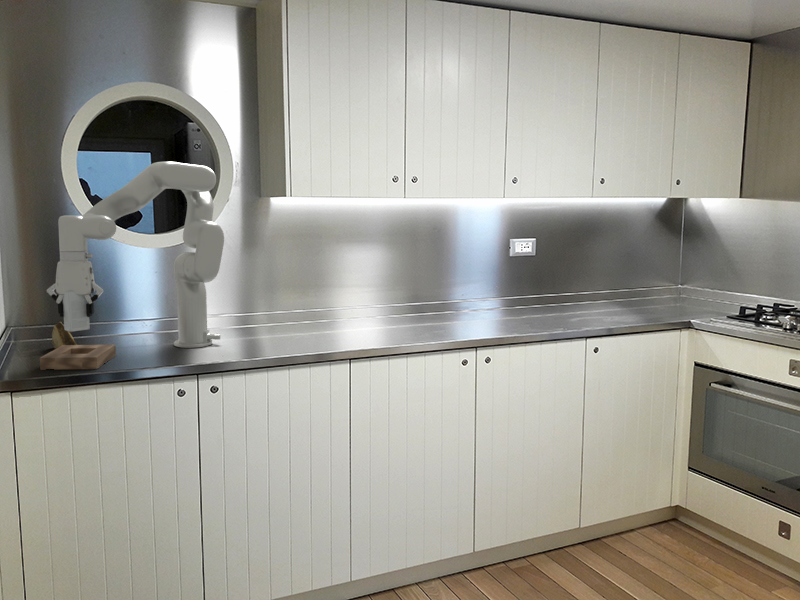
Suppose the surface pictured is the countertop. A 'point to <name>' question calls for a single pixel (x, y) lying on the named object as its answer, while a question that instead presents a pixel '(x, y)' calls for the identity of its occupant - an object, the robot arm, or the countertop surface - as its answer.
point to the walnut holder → (78, 357)
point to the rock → (61, 336)
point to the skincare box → (75, 312)
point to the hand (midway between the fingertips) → (76, 315)
